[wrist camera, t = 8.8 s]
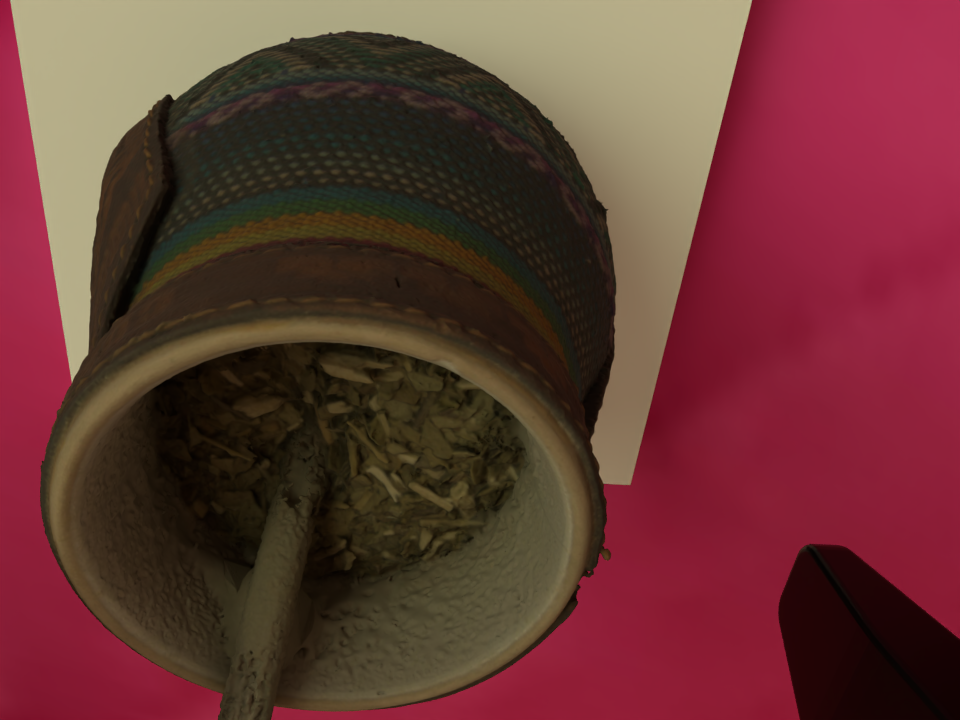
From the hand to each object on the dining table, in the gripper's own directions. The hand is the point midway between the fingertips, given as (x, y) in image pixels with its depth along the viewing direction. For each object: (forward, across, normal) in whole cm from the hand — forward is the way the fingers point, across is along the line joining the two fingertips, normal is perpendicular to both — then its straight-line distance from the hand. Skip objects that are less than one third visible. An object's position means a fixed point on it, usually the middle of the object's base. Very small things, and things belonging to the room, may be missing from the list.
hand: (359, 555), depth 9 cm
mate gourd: (+8, 0, 0) cm, 8 cm away
